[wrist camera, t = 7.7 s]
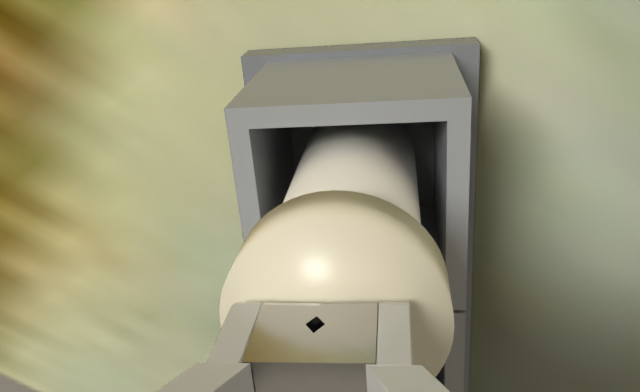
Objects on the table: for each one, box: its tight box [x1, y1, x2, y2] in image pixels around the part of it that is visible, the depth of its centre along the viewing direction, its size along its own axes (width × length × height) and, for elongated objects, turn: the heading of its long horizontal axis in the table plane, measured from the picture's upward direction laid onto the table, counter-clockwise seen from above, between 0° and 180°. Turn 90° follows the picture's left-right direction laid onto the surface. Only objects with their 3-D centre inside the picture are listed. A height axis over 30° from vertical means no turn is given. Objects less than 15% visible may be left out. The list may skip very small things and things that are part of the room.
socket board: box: [224, 37, 480, 392], centre depth 19 cm, size 7×17×6 cm, turn 5°
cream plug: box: [219, 123, 454, 377], centre depth 14 cm, size 4×4×8 cm
